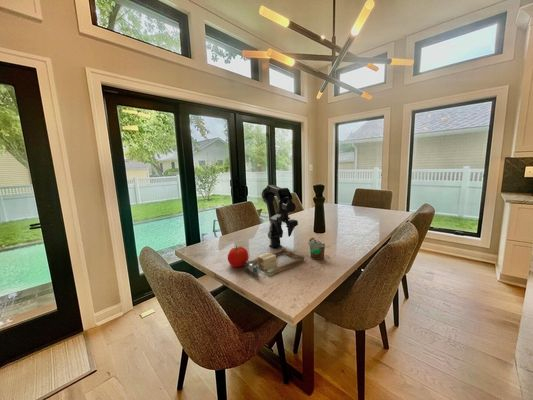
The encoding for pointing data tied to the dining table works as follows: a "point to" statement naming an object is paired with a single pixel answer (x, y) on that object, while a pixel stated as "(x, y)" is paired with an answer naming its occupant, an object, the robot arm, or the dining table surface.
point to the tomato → (237, 256)
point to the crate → (267, 261)
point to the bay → (274, 270)
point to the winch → (252, 268)
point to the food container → (316, 249)
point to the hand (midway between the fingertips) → (284, 234)
